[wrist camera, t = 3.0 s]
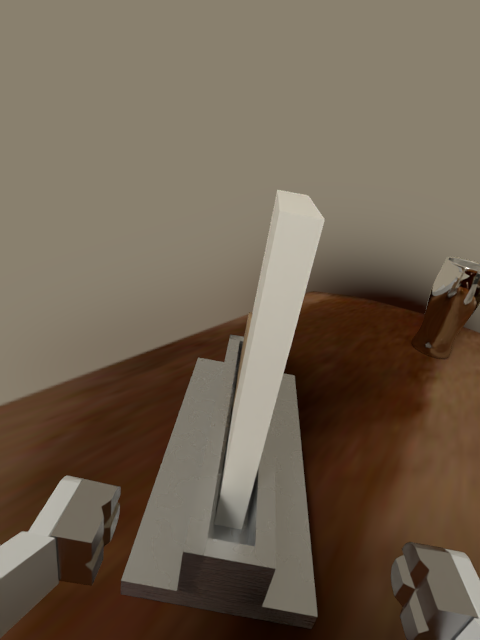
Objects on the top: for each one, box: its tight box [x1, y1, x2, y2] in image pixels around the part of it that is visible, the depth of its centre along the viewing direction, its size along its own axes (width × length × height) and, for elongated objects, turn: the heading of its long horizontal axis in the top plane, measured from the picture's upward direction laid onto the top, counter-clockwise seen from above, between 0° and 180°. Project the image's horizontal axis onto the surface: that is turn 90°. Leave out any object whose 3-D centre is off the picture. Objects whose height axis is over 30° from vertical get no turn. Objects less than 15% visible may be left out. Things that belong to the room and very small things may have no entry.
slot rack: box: [121, 335, 318, 629], centre depth 32 cm, size 12×25×6 cm, turn 175°
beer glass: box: [411, 257, 480, 359], centre depth 57 cm, size 7×7×15 cm
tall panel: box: [214, 190, 324, 529], centre depth 24 cm, size 2×8×22 cm, turn 175°
